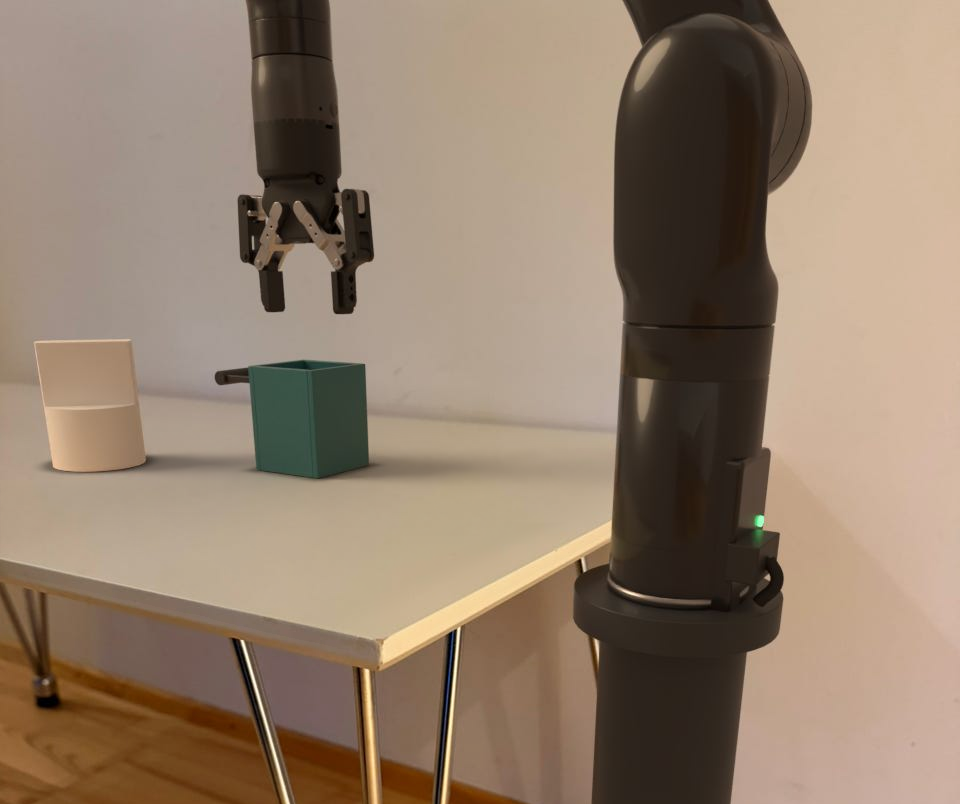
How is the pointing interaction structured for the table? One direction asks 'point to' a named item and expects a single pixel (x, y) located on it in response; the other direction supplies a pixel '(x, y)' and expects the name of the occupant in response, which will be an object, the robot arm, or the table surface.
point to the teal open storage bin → (306, 415)
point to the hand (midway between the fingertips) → (308, 313)
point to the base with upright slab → (91, 404)
